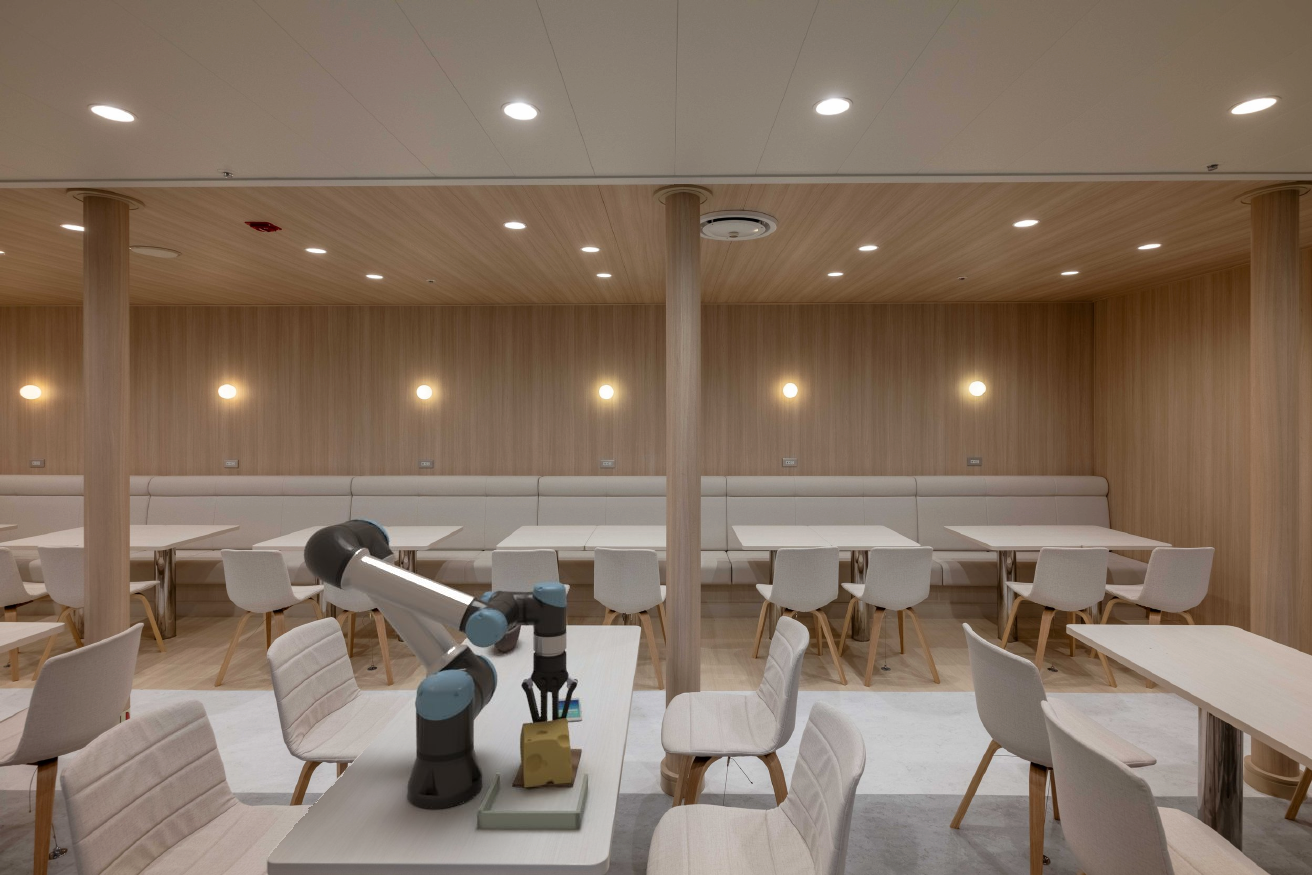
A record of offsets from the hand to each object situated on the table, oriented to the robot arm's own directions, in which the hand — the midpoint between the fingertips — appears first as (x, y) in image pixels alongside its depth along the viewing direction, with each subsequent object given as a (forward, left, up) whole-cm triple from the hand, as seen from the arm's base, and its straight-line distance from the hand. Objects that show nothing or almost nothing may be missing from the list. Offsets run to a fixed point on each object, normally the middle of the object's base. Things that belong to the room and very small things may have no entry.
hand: (549, 752), depth 155 cm
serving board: (-2, -3, -2) cm, 4 cm away
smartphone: (+17, +23, -3) cm, 29 cm away
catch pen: (-10, -15, -2) cm, 19 cm away
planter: (+23, +83, -2) cm, 87 cm away
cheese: (-4, -6, -2) cm, 7 cm away
